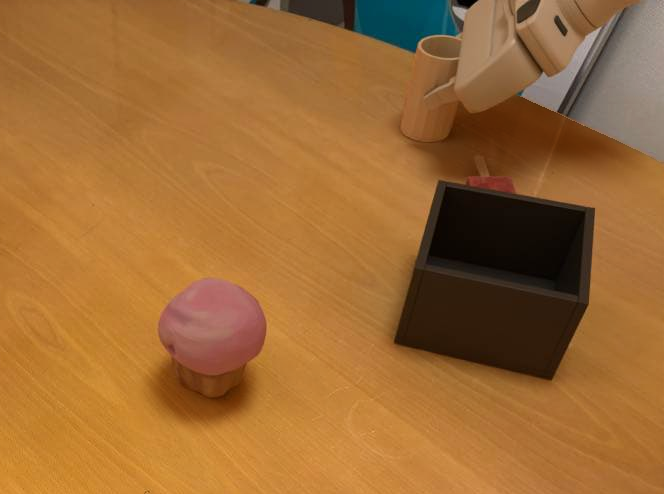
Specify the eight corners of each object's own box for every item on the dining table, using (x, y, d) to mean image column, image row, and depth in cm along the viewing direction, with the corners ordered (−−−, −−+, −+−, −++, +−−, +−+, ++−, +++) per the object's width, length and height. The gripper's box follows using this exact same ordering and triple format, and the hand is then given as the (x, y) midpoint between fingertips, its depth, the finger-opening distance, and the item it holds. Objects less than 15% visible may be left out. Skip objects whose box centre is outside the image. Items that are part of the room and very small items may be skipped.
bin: (561, 284, 84) (595, 207, 77) (552, 380, 76) (589, 304, 69) (417, 254, 87) (438, 179, 81) (393, 343, 79) (414, 267, 73)
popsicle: (500, 149, 96) (534, 234, 87) (496, 162, 98) (528, 248, 88) (458, 149, 97) (487, 234, 87) (454, 162, 98) (482, 247, 88)
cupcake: (209, 332, 81) (214, 246, 73) (280, 381, 76) (293, 294, 69) (139, 381, 77) (136, 295, 70) (210, 435, 73) (215, 349, 65)
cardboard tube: (456, 124, 103) (479, 42, 96) (439, 147, 100) (461, 64, 93) (410, 112, 106) (429, 30, 98) (392, 133, 102) (410, 51, 95)
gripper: (534, -56, 95) (422, 23, 104) (531, 27, 82) (404, 108, 92) (564, -10, 97) (451, 63, 107) (565, 77, 84) (437, 152, 94)
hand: (429, 85), depth 99 cm, fingers open, 7 cm apart
